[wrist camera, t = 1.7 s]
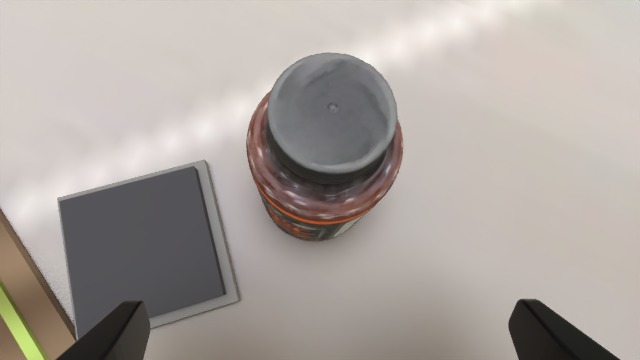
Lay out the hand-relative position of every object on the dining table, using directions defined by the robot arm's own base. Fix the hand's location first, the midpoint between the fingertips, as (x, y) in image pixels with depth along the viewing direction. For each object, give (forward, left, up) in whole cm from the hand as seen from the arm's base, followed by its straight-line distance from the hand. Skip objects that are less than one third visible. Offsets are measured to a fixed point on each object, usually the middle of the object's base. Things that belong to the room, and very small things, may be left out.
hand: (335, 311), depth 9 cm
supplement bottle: (+5, +3, -12) cm, 13 cm away
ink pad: (-3, +9, -12) cm, 15 cm away
